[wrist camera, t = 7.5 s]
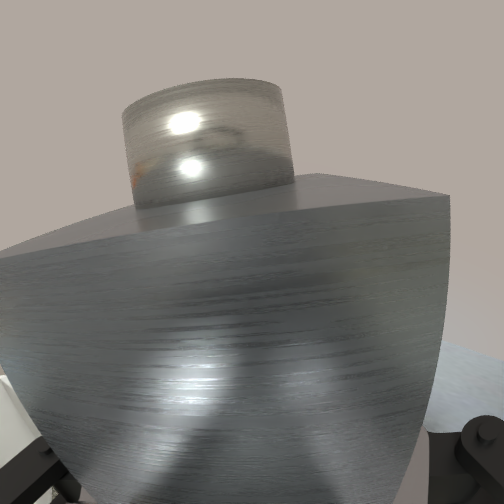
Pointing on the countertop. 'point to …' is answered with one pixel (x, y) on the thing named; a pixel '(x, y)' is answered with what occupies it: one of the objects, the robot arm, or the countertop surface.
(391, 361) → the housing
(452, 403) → the countertop surface
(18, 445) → the white open-top bins
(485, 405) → the countertop surface
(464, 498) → the robot arm
